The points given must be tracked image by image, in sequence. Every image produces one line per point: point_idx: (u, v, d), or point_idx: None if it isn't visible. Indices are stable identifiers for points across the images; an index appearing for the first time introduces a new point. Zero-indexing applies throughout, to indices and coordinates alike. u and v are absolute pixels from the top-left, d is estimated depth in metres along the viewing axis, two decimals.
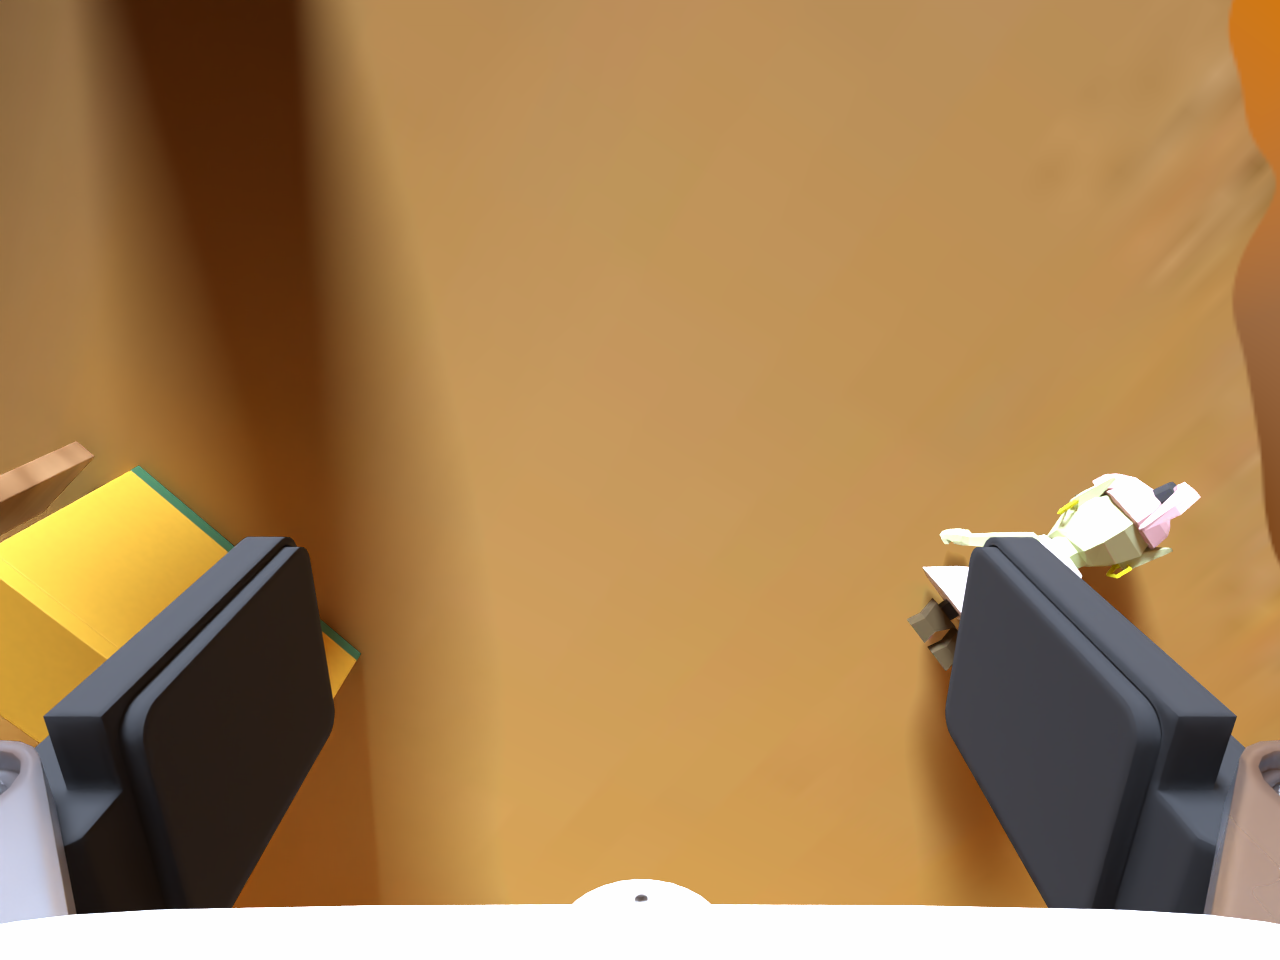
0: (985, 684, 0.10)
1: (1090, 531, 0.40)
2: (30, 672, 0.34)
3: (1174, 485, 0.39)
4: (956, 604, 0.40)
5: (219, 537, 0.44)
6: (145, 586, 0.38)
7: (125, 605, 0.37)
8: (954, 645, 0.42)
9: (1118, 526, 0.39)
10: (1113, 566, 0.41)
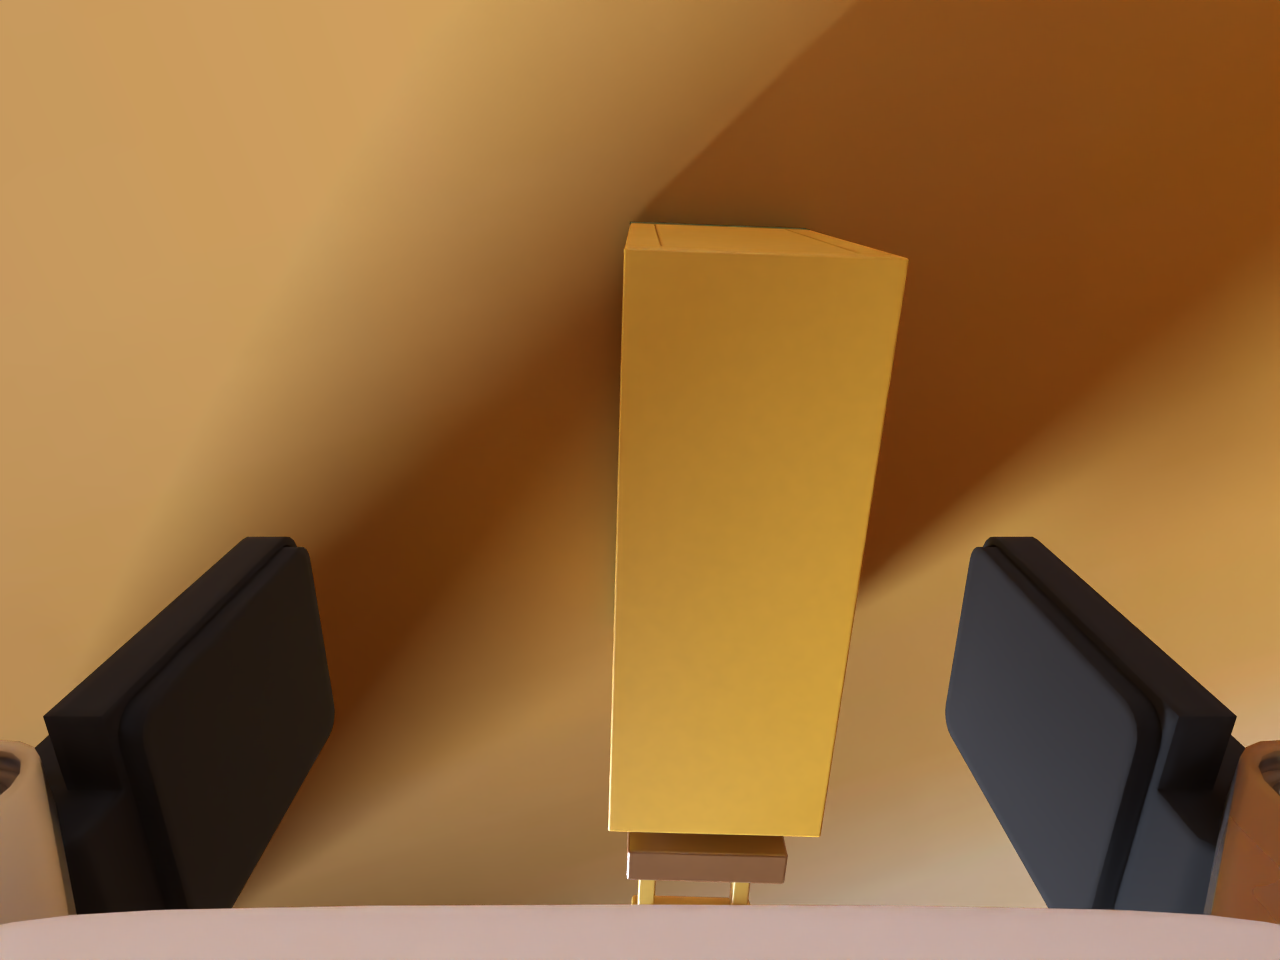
0: (985, 684, 0.10)
1: None
2: (727, 697, 0.21)
3: None
4: None
5: None
6: None
7: None
8: None
9: None
10: None
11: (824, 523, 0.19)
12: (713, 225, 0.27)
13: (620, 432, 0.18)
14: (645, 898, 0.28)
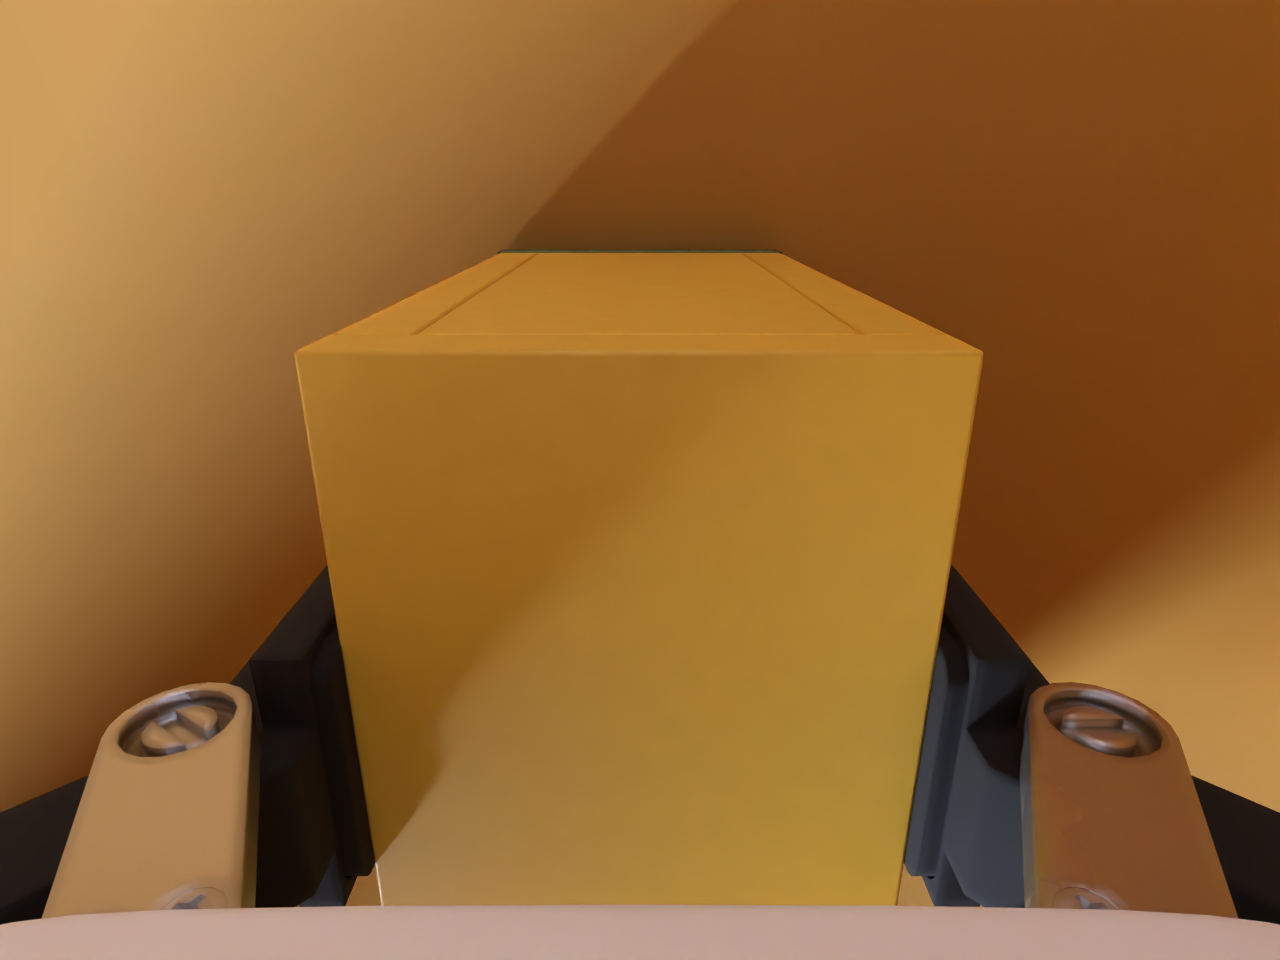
0: None
1: None
2: None
3: None
4: None
5: None
6: None
7: None
8: None
9: None
10: None
11: (809, 884, 0.09)
12: (630, 251, 0.17)
13: (355, 734, 0.08)
14: None
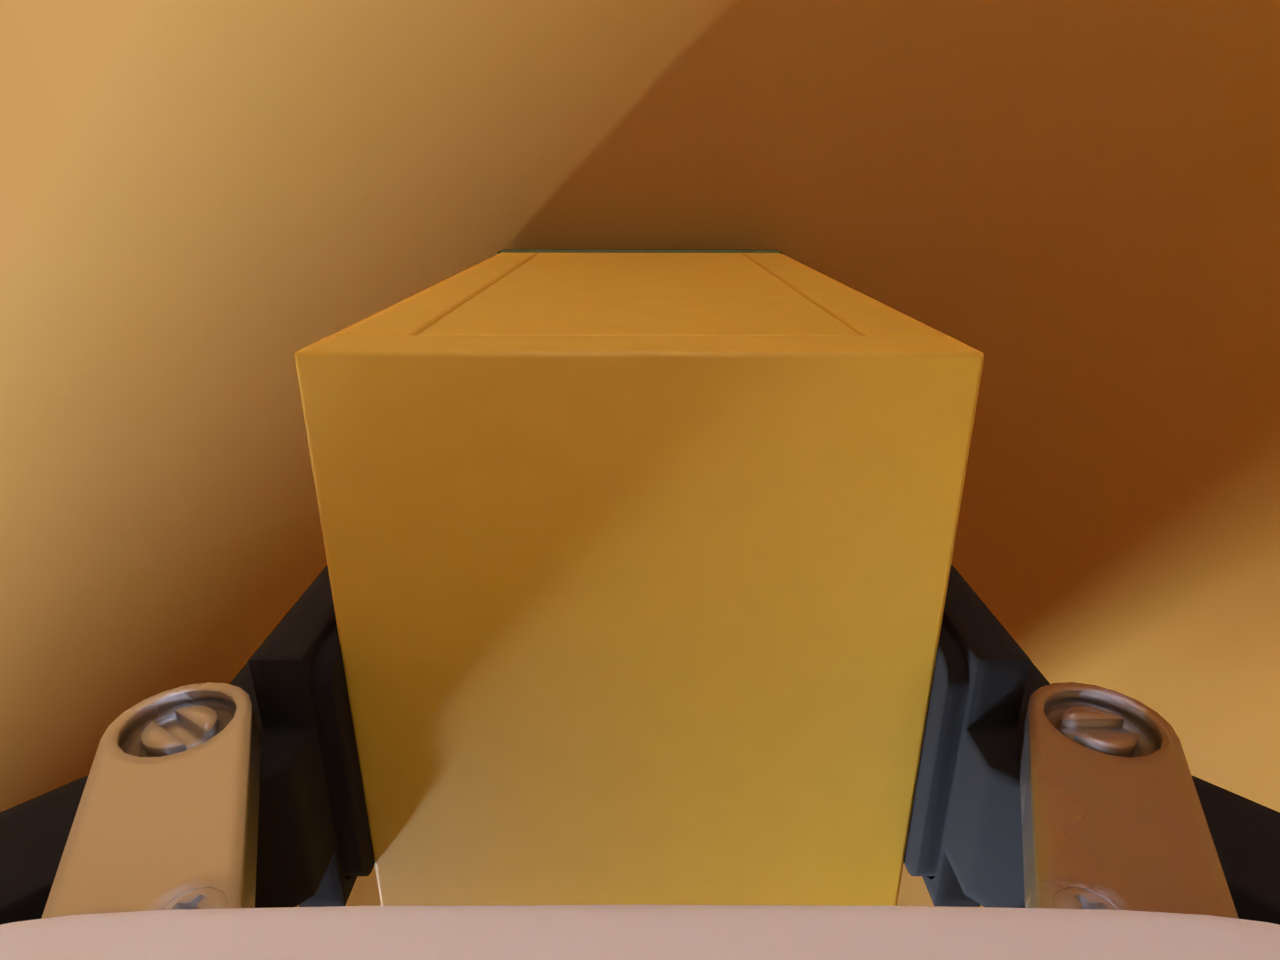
0: None
1: None
2: None
3: None
4: None
5: None
6: None
7: None
8: None
9: None
10: None
11: (808, 885, 0.09)
12: (630, 251, 0.17)
13: (355, 735, 0.08)
14: None
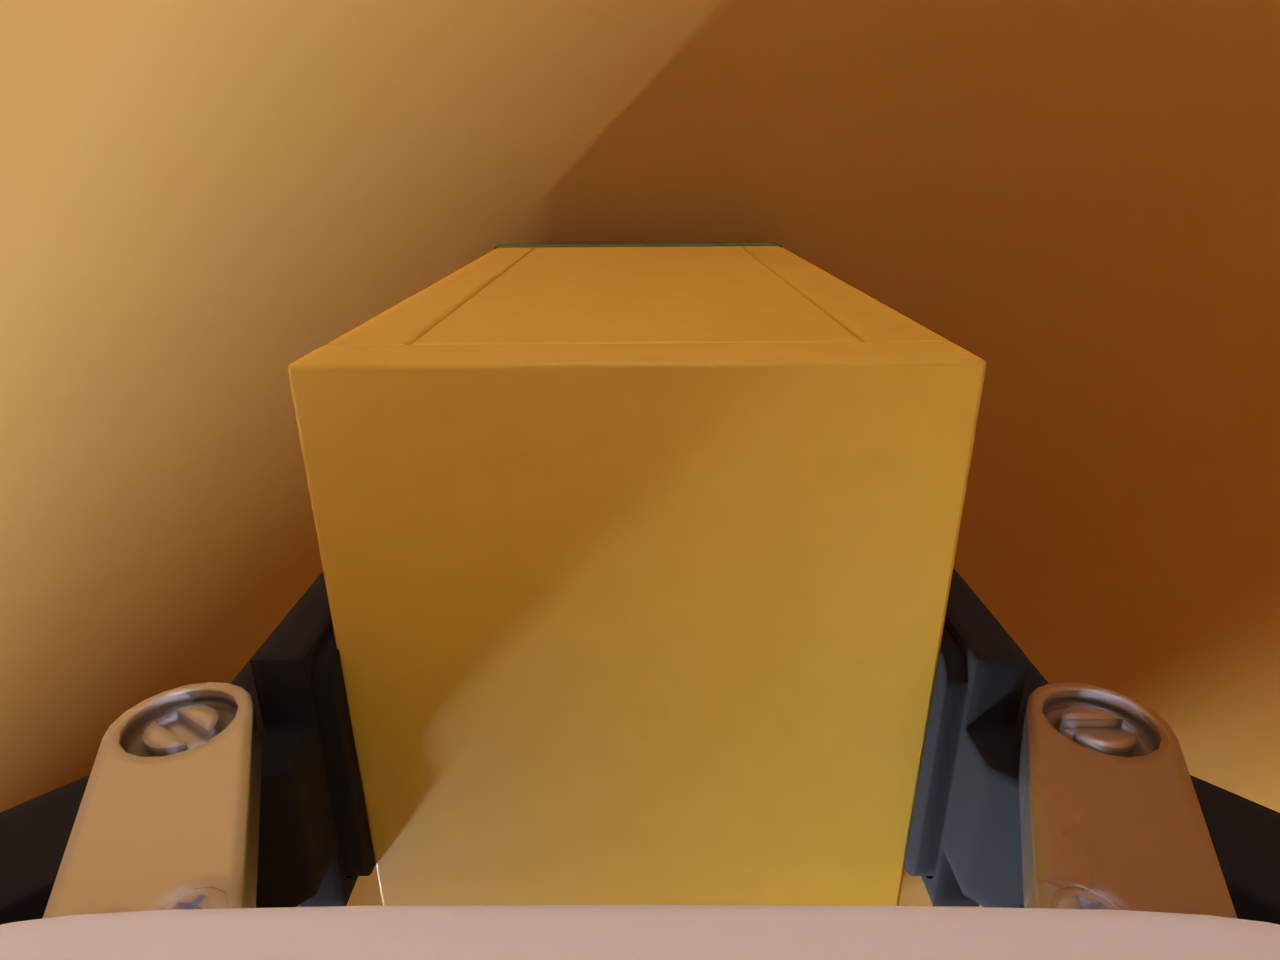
0: None
1: None
2: None
3: None
4: None
5: None
6: None
7: None
8: None
9: None
10: None
11: (810, 889, 0.09)
12: (628, 245, 0.17)
13: (355, 745, 0.08)
14: None
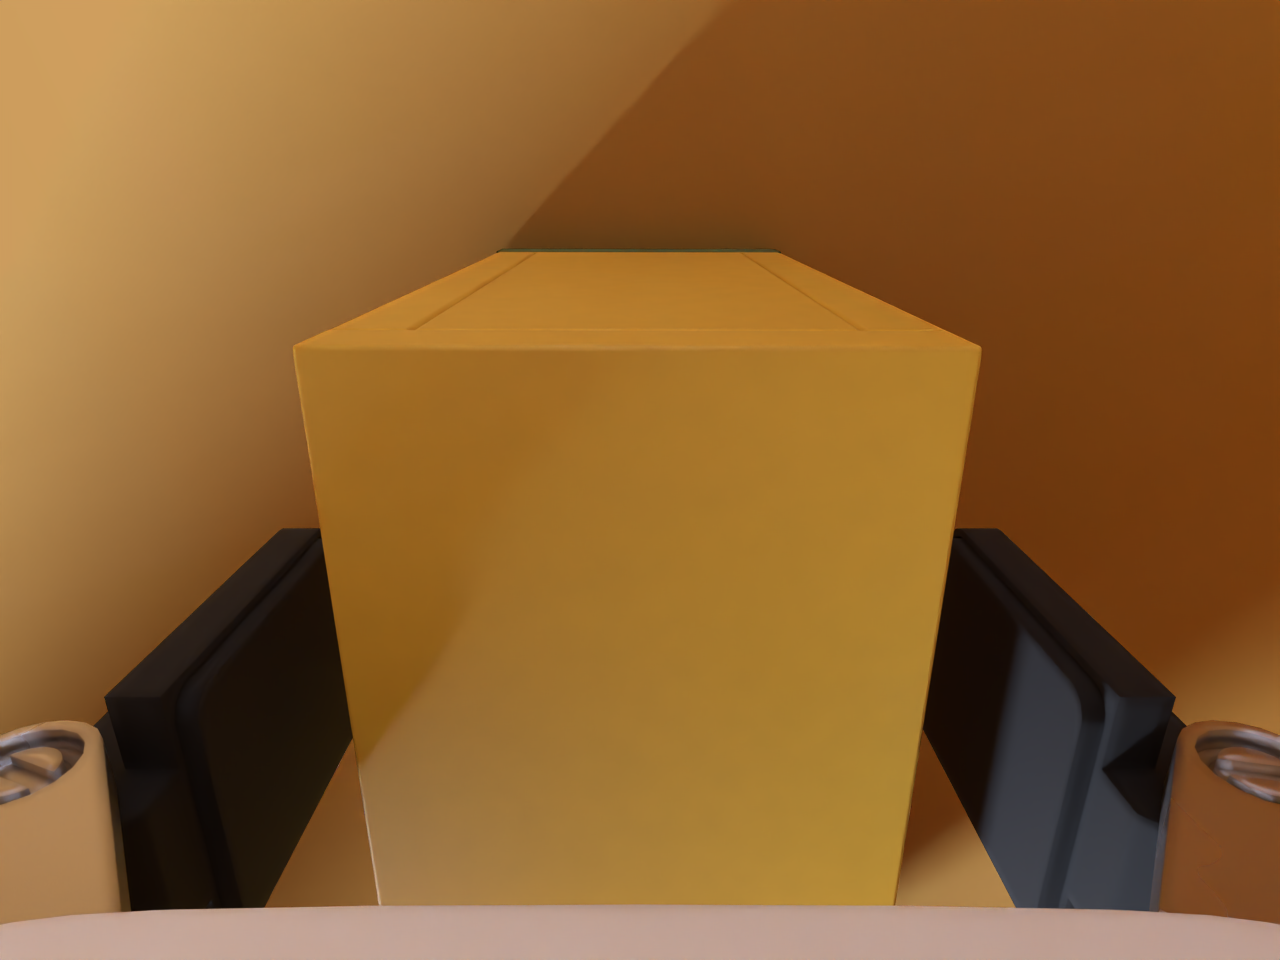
0: (950, 672, 0.10)
1: None
2: None
3: None
4: None
5: None
6: None
7: None
8: None
9: None
10: None
11: (807, 882, 0.09)
12: (629, 250, 0.17)
13: (352, 730, 0.08)
14: None
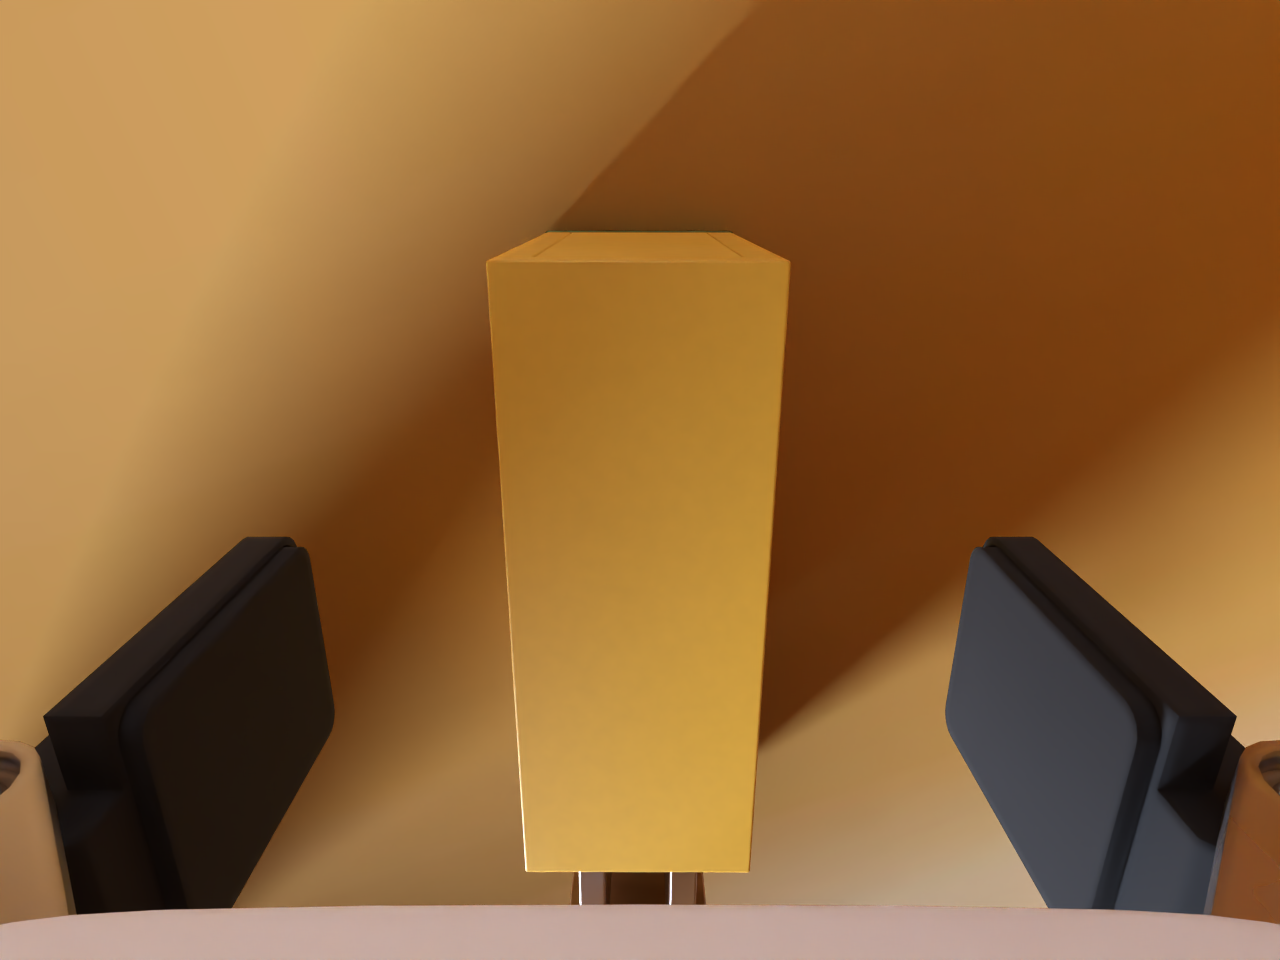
0: (985, 684, 0.10)
1: None
2: (638, 729, 0.20)
3: None
4: None
5: None
6: None
7: None
8: None
9: None
10: None
11: (724, 544, 0.18)
12: (633, 231, 0.26)
13: (499, 455, 0.17)
14: None
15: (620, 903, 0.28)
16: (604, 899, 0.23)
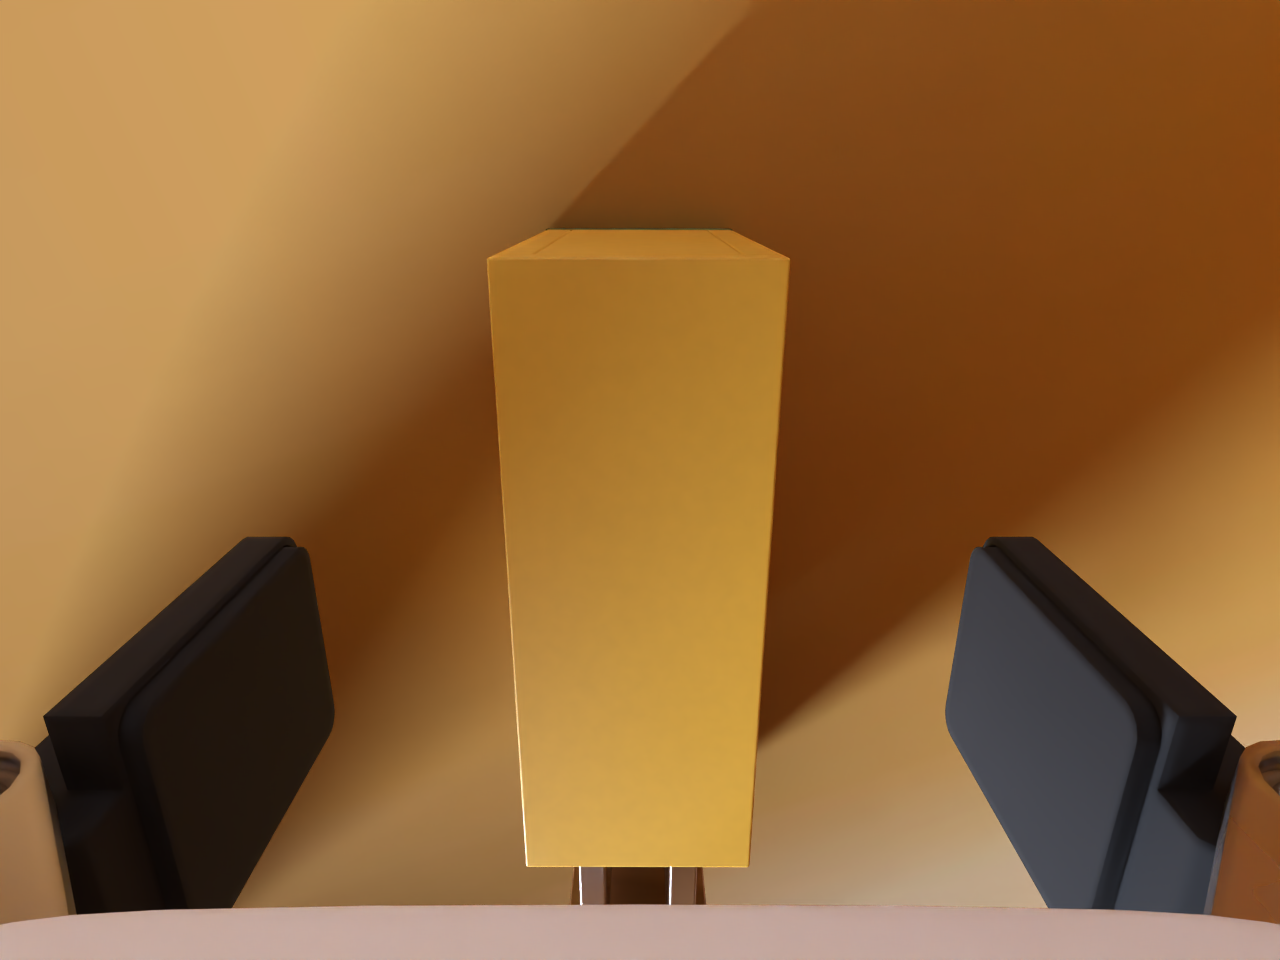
0: (985, 684, 0.10)
1: None
2: (638, 724, 0.20)
3: None
4: None
5: None
6: None
7: None
8: None
9: None
10: None
11: (724, 540, 0.18)
12: (633, 229, 0.26)
13: (500, 452, 0.17)
14: None
15: (620, 898, 0.29)
16: (604, 894, 0.23)
